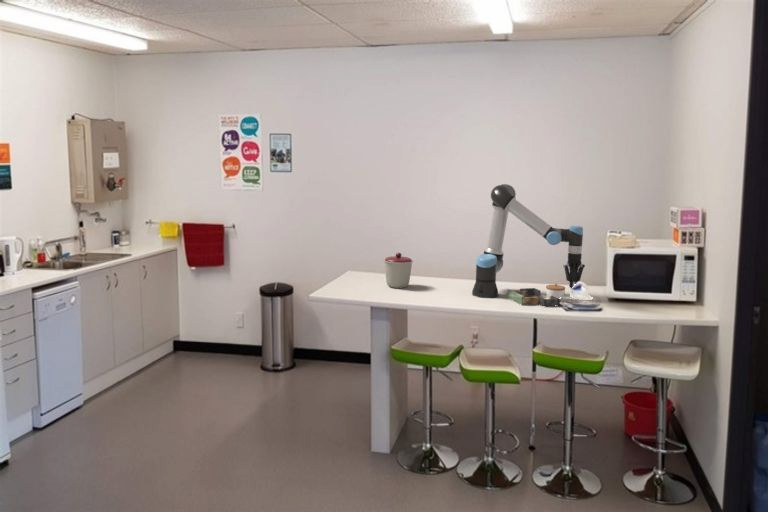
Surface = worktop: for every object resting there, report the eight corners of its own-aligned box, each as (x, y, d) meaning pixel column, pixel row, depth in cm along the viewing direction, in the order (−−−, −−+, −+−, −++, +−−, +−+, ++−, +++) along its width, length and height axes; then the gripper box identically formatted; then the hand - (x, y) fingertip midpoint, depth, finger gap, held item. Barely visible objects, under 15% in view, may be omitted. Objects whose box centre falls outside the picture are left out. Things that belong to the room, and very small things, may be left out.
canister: (382, 283, 422) (383, 250, 419) (411, 283, 423) (412, 250, 419) (383, 289, 404) (384, 254, 401) (413, 289, 405) (414, 255, 401)
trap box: (526, 307, 366) (527, 298, 365) (503, 296, 393) (503, 287, 393) (559, 306, 371) (559, 297, 370) (534, 294, 399) (534, 286, 398)
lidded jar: (564, 302, 380) (566, 286, 379) (545, 301, 382) (546, 285, 381) (563, 298, 391) (564, 282, 389) (544, 297, 393) (545, 281, 391)
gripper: (568, 254, 380) (565, 294, 384) (588, 253, 383) (586, 293, 387) (561, 252, 387) (559, 292, 391) (581, 251, 390) (578, 291, 394)
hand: (572, 293), depth 389 cm, fingers closed
